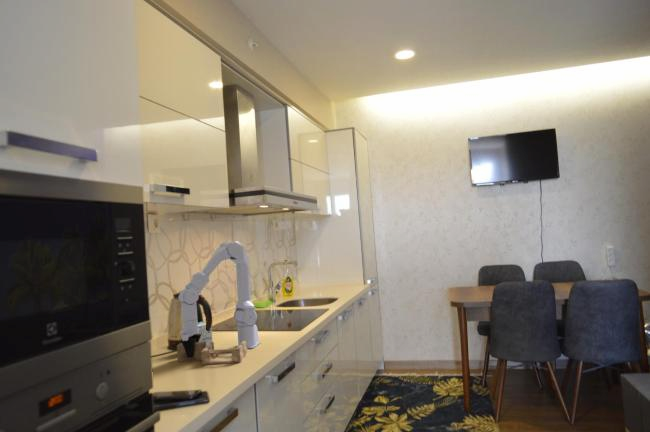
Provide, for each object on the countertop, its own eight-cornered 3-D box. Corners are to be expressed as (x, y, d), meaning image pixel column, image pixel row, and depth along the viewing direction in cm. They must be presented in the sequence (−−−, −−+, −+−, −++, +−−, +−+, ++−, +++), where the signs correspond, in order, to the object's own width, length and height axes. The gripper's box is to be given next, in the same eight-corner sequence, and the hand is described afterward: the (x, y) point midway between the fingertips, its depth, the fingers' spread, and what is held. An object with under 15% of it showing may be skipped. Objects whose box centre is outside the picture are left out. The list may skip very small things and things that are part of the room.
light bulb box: (204, 346, 202) (202, 321, 202) (213, 348, 197) (212, 322, 198) (182, 352, 193) (180, 326, 194) (192, 354, 189) (190, 327, 189)
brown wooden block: (177, 361, 179) (176, 345, 180) (181, 358, 183) (180, 343, 184) (203, 359, 179) (202, 343, 180) (206, 356, 183) (205, 341, 184)
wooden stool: (211, 355, 185) (211, 342, 185) (247, 352, 185) (246, 339, 185) (202, 365, 171) (201, 351, 171) (240, 362, 171) (239, 348, 171)
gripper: (185, 317, 189) (187, 351, 189) (173, 324, 175) (175, 361, 174) (202, 315, 189) (205, 350, 189) (192, 322, 175) (194, 360, 174)
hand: (192, 355), depth 181 cm, fingers closed on brown wooden block, 4 cm apart
